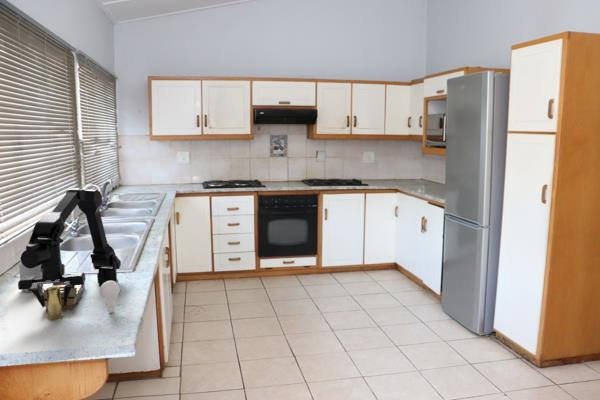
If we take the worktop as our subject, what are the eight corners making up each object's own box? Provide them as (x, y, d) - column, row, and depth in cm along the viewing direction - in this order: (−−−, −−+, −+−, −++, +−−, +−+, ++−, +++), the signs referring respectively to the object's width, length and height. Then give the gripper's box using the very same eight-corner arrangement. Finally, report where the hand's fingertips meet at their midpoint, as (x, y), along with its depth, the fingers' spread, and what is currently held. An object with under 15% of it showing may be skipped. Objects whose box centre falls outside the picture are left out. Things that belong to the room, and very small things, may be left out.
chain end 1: (82, 293, 184) (81, 277, 183) (75, 309, 168) (74, 291, 167) (52, 296, 181) (51, 279, 180) (42, 312, 166) (41, 294, 165)
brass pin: (63, 315, 164) (61, 285, 162) (61, 319, 160) (58, 289, 158) (50, 316, 163) (47, 286, 161) (47, 320, 159) (45, 290, 157)
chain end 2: (85, 288, 190) (84, 277, 189) (78, 303, 174) (77, 291, 174) (56, 290, 187) (55, 279, 186) (46, 306, 172) (45, 293, 171)
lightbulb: (98, 312, 166) (96, 280, 164) (116, 307, 170) (114, 276, 168) (106, 317, 162) (104, 285, 160) (124, 312, 166) (122, 281, 164)
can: (47, 286, 192) (44, 256, 190) (37, 293, 185) (35, 261, 183) (27, 286, 192) (24, 256, 190) (17, 293, 184) (14, 261, 183)
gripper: (86, 250, 168) (89, 295, 171) (25, 254, 164) (29, 300, 166) (81, 259, 158) (84, 306, 160) (15, 264, 153) (20, 312, 155)
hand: (54, 306), depth 161 cm, fingers open, 6 cm apart
